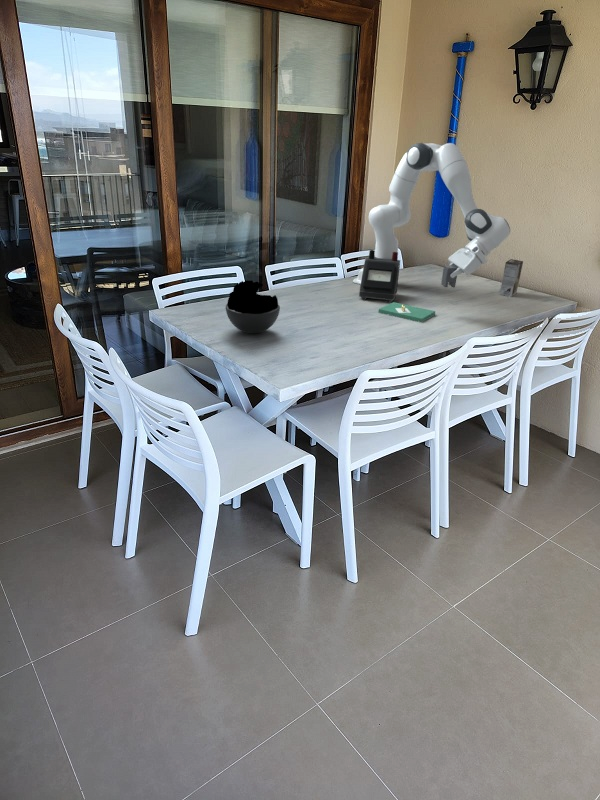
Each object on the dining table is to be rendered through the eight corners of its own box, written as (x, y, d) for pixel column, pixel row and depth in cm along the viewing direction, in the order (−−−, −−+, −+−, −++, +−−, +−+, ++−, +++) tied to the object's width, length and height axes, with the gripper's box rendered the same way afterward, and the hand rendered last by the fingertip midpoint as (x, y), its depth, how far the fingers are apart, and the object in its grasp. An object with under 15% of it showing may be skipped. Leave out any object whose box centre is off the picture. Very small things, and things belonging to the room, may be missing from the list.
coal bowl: (257, 320, 217) (257, 273, 209) (290, 334, 204) (291, 284, 195) (215, 329, 205) (214, 280, 196) (247, 345, 192) (246, 292, 183)
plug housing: (441, 284, 230) (444, 265, 227) (451, 284, 231) (454, 265, 227) (444, 287, 226) (447, 267, 222) (455, 287, 226) (458, 268, 223)
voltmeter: (358, 299, 249) (362, 255, 241) (363, 291, 264) (367, 249, 255) (393, 303, 246) (398, 259, 237) (396, 294, 261) (401, 252, 252)
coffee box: (503, 291, 273) (510, 258, 266) (516, 293, 270) (523, 260, 263) (498, 294, 267) (505, 261, 259) (511, 297, 263) (519, 263, 256)
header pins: (402, 311, 229) (403, 307, 228) (400, 309, 233) (401, 304, 232) (405, 311, 229) (405, 307, 229) (402, 309, 233) (403, 304, 232)
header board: (378, 312, 233) (378, 308, 232) (393, 305, 243) (393, 301, 242) (421, 322, 222) (421, 318, 222) (434, 314, 233) (435, 310, 232)
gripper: (462, 241, 231) (436, 263, 234) (480, 250, 212) (451, 275, 216) (470, 252, 233) (444, 274, 237) (488, 262, 215) (460, 286, 218)
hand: (448, 274), depth 226 cm, fingers closed on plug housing, 5 cm apart
